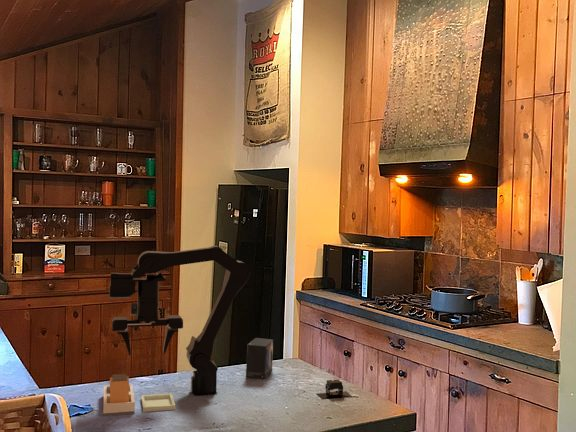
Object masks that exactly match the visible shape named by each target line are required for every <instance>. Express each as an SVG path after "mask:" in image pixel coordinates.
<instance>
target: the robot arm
mask: <svg viewBox="0 0 576 432" xmlns="http://www.w3.org/2000/svg"><path fill="white" fill-rule="evenodd" d="M211 261H214V262H215V263H217V264H218V265H219V266H220V267H222V268H223V270H225V273H224V277H223V283H222V287H221V290H220V291H219V294H218V296H217V299H216V301H215V303H214V305H213V308H212V309H211V311H210V313H209V316H208V318H207V319H206V322H205V324H204V326H203V328H202V330H201V333H199V335H198V336H197V337H195V336H193V335H192V336H191V338H190V342H189V344H188V345H187V346H186V348H185V349H186V358H187V361H188V363H189V365H190V366H191V367H192V368H193V369H194V370H193V371H192V376H191V377H190V392H191V394H193V395H194V397H197V396H198V397H200V396H201V397H203V396H212V395H213V396H215V395H218V394H219V393H218V391H217V381H218V379H217V374H218V373H217V372H218V369H219V368H218V366H217V365H216V363H215V362H214V360H213V359H212V354H213V351H214V344H215V340H216V338H217V335H218V333H219V331H220V329H221V327H222V325H223V323H224V320H225V318H226V316H227V315H228V312H229V310H230V308H231V307H232V306H231V305H232V303H233V301H234V299H235V297H236V295H237V294H238V293H239V292H240V290H241V289H242V288H244V286H245V284H247V282H248V281H249V279H250V277H251V274H252V271H251V268H250V266H249V265H248V264H247V263H245V262H243V261H241V260H236V259H235V258H233V257H232V256H231V255H229V254H228V253H227V252H225V251H224V250H223V248H221V247H220V246H217V245H211V246H208V247H201V248H193V249H186V250H177V251H172V252H171V251H156V250H146V251H143V252H142V253H140V254H139V256H138V258H137V264H136V265H135V267H134V268H133V269H132V270H131V271H130V273H129V272H128V273H127V272H126V273H124V272H123V273H121V272H120V273H119V272H111V273H110V282H109V294H108V295H109V297H108V298H109V299H131V297H132V296H133V295H135V294H136V282H137V298H136V299H137V300H136V301H137V302H136V303H135V302H134V303H133V302H132V303H130V316H135V318H136V319H128V317H127V316H114V317H113V318H112V320H111V330H112V331H113V332H116V334H117V335H121V337H122V339H123V342H124V343H125V347H126V350H127V354H128V356H131V353H132V351H131V342H130V335H129V328H130V327H132V328H133V327H138V328H139V327H162V326H165V328H164V329H165V330H164V331H165V333H164V337H163V338H164V339H163V347H162V349H163V350H162V353H163V354H164V355H165V354H166V352H167V350H168V347H169V345H170V341H171V340H172V338H173V335H174V334H175V333H176V332H179V329H181V330H182V329H183V328H184V319H183V318H182V317H181V315H179V314H178V315H177V314H176V315H175V314H173V315H170V314H169V315H167V316H166V318H159V305H160V304H159V303H160V301H159V300H160V299H159V298H160V296H159V295H160V291H159V290H160V282H166V281H167V278H166V277H165V276H164V275H163V274H162V271H163V270H166V269H169V268H171V267H176V266H181V265H182V266H183V265H189V264H190V265H191V264H196V263H197V264H198V263H203V262H204V263H205V262H211ZM154 273H157V274H154ZM143 276H145V277H143Z"/></svg>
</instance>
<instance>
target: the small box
mask: <svg viewBox="0 0 576 432" xmlns="http://www.w3.org/2000/svg"><path fill="white" fill-rule="evenodd" d="M273 352H274V339H271V338H262V337H261V338H260V337H255V338H253V339H252V340H251V341H249V343H247V345H246V367H245V368H246V369H245V378H247V379H249V378H251V379H261V380H265V379H266V378H267V377H268V376H269V375H270V373H271V372H273V357H274V354H273Z"/></svg>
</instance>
